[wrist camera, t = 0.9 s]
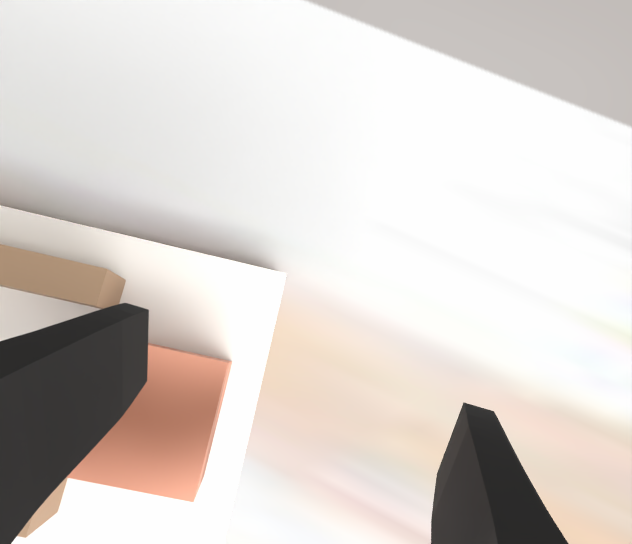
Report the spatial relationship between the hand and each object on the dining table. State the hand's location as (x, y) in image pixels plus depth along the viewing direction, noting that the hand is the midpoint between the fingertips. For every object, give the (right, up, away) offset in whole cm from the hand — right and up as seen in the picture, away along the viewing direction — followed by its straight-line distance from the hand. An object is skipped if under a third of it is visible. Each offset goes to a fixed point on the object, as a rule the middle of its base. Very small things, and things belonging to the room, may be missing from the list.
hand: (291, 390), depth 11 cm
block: (-6, -3, +11) cm, 13 cm away
